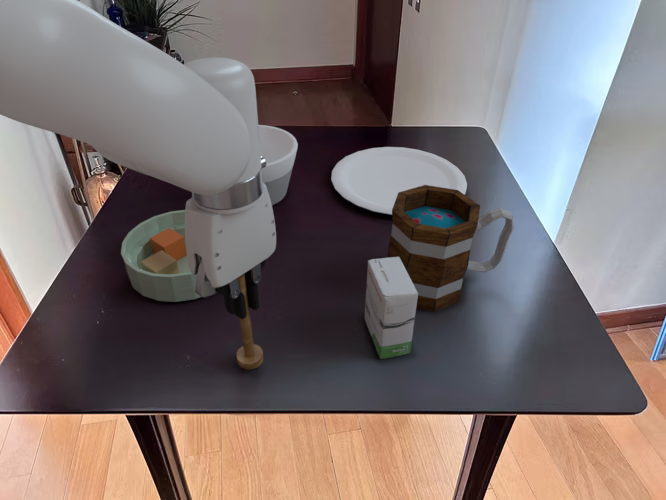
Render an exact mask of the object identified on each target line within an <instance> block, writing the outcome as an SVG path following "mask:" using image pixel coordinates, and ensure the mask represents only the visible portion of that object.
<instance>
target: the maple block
mask: <svg viewBox="0 0 666 500" xmlns="http://www.w3.org/2000/svg"><path fill="white" fill-rule="evenodd" d="M141 265H142V269H143V270H144V271H147V272H151V273H155V274H178V273H179V270H178V265H177V261H176V260H175V259H174V258H172V257H171V256H169V255H168V254H167V253H165V252H164V251H162V250H161V251H159V252H157V253H155V254H154V255H152V256H150V257H148V258H146V259H144V260H143V261H141Z"/></svg>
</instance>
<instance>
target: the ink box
mask: <svg viewBox="0 0 666 500" xmlns="http://www.w3.org/2000/svg"><path fill="white" fill-rule="evenodd" d="M417 298H418V292H417V290H416V289H415V287H414V285H413V283H412V281H411V279H410V277H409V275H408V273H407V271H406V269H405V267H404V265H403V263H402V261H401V259H400V258H399V257H388V256H387V257H382V258H372V259H368V260H367V274H366V287H365V305H364V321H365V324H366V326H367V329H368V332H369V335H370V337H371V339H372V342H373V344H374V347H375V350H376V352H377V354H378V357H379V359H380V360H384V359H389V358H391V359H392V358H396V357H401V356H405V355H409V354H411V348H412V342H413V335H414V329H415V328H414V327H415V319H416V312H417V308H416V306H417Z"/></svg>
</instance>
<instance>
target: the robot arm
mask: <svg viewBox="0 0 666 500" xmlns="http://www.w3.org/2000/svg"><path fill="white" fill-rule="evenodd" d="M255 81H256V80H255V77H254V74H253V71H252V70H251V69H250V68H249V66H248V65H246V64H245V63H243V62H242V61H240V60H237V59H233V58H227V57H203V58H197V59H194V60H191V61H187V62H185V63H183V62H180V61H179V60H177V59H176V58H174V57H172V56H171V55H170V54H168V53H166V52H164V51H163V50H161V49H160V48H158V47H157V46H154V45H153V44H151V43H150V42H148V41H146V40H144V39H143V38H141V37H139V36H138V35H136V34H134V33H132V32H131V31H129V30H127V29H125V28H124V27H122V26H120V25H118V24H117V23H115V22H113V20H110V19H109V18H107V17H105V15H102V14H101V13H100V12H97V11H96V10H95V9H94V8H92V7H90V6H88V5H86V4H85V3H84V2H82V1H80V0H0V115H1V116H3V117H6V118H8V119H11V120H13V121H16V122H18V123H21V124H24V125H27V126H31V127H33V128H37V129H41V130H44V131H47V132H51V133H54V134H58V135H61V136H64V137H67V138H70V139H73V140H76V141H79V142H82V143H85V144H87V145H90V146H91V147H92V148H93V150H95V151H96V152H97V153H98V154H99V155H101V156H102V157H103V158H105V159H107V160H108V161H110V162H112V163H114V164H116V165H119V166H121V167H124V168H127V169H129V170H132V171H135V172H137V173H139V174H142V175H145V176H150V177H152V178H154V179H157V180H160V181H162V182H166V183H168V184H171V185H173V186H175V187H178V188H180V189H183V190H185V191H188V192H190V193H191V197H190V198H189V199H188V200H187V201H186V202H185V208H184V210H185V241H186V251H187V258H188V264H189V269H190V271H191V273H193V274H194V275H196V274H197V280H196V287H195V292H196V293H197V294H199V295H200V296H202V297H201V298H208V297H210V296H214V295H215V294H218V295H222V296H223V302H224V307H225V310H226V311H227V312H228V313H229V314H231V315H235V317H237V318H238V319H239V318H240V319H242V320H243V319H244V318H246V316H247V313H246V304H245V296H244V294H243V293H241V292H240V289H239V284H238V277H239V276H241V275H242V274H244V275H245V282H246V290H247V297H248V305H249V309H251V310H252V311H257V310H259V308H260V301H259V289H258V288H259V287H258V284H259V283H260V282H261V280H262V270H263V269H264V267H265V265H266V262H267V261H268V260H269V258H271V256H272V255H273V254H274V253H275V252H276V251H277V230H276V222H275V221H276V219H275V215H274V209H273V205H272V204H271V200H270V197H269V193H268V190H267V188H266V185H265V184H264V183H263V179H262V168H264V167H265V166H266V160H265V159H264V157H262V156H261V154H260V140H259V126H258V125H259V117H258V116H259V114H258V103H257V90H256V83H255Z"/></svg>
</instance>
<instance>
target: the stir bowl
mask: <svg viewBox="0 0 666 500" xmlns="http://www.w3.org/2000/svg"><path fill="white" fill-rule="evenodd" d="M168 228H170V229H172V230H173V231H175V232H177V233H178V234H180V235H182V236H183V237H184V241H185V209H182V210H181V209H180V210H173V211H168V212H164V213H161V214H158V215H153V216H152V217H150V218H148V219H145V220H144V221H142V222H139V224H137V225H136V226H135V227H133V228H132V229H131V230H130V231H129V232H128V233H127V234H126V235H125V237H124V238H123V241H122V242H121V248H120V256H121V258H122V262H123V266H124V269H125V273H126V275H127V278H128V281H129V283H130V285H131V287H132V289H134V290H135V291H136V292H137V293H139V294H140V295H141V296H142V297H146V298H148V299H152V300H155V301H158V302H170V303H179V302H186V301H191V300H197V299H200V298H203V297H202V296H200V295H199V294H197V293H196V292H195V287H196V280H197V274H196V275H194V274H193V273H191V271H190V269H189V264H188V258H187V255H186V256H185V257H183V258H181V259H180V260H178V261H177V265H178V270H179V273H178V274H155V273H151V272H147V271H144V270H143V269H142V265H141V261H143V260H144V259H146V258H148V257H150V256H152V255H154V253H153V249H152V245H151V241H150V238H151V237H153V236H155V235H157V234H159V233H160V232H162V231H164V230H166V229H168ZM185 246H186V241H185Z"/></svg>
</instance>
